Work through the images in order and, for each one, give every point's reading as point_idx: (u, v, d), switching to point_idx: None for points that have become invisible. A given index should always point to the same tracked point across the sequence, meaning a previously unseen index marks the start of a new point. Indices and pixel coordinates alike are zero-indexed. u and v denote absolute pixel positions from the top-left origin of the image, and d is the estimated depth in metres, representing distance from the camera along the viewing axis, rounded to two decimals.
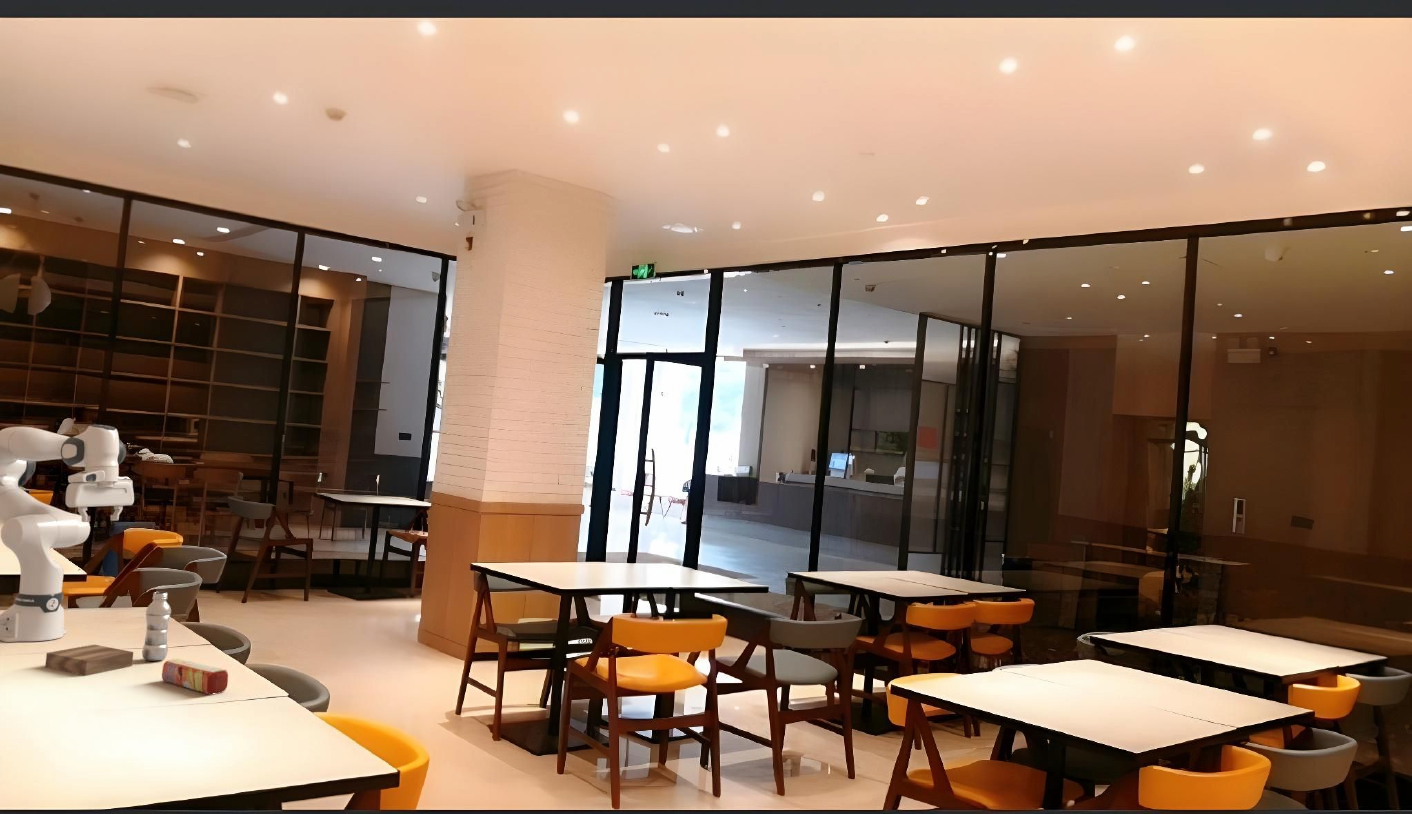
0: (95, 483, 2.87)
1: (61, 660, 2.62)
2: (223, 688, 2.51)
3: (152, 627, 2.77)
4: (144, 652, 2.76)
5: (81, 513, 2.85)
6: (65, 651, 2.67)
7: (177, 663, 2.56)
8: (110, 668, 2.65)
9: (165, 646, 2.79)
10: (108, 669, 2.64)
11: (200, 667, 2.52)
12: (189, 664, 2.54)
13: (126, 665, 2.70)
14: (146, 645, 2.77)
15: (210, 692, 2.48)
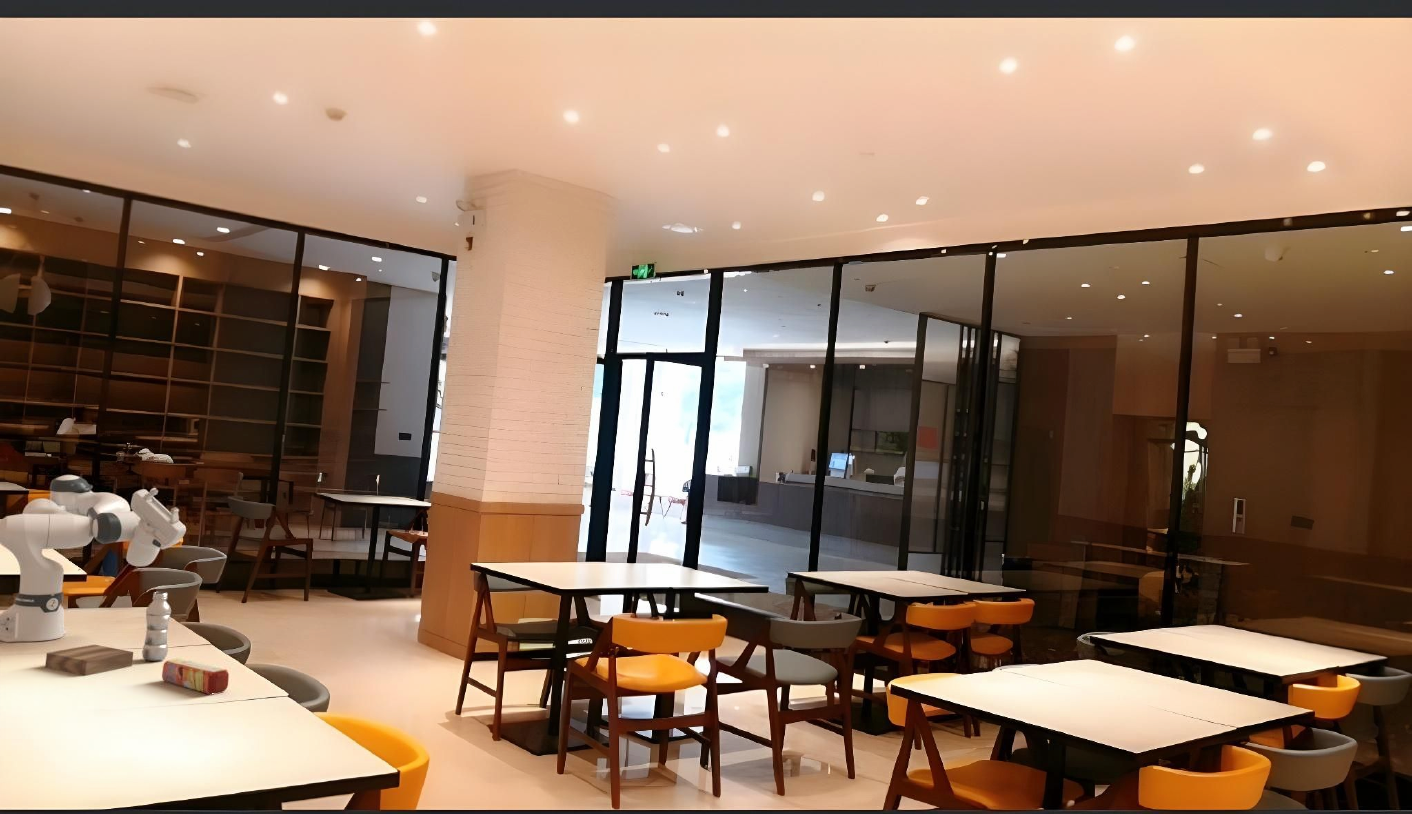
0: (155, 535, 2.99)
1: (61, 660, 2.62)
2: (224, 687, 2.51)
3: (152, 627, 2.77)
4: (144, 652, 2.76)
5: (176, 517, 2.97)
6: (65, 651, 2.67)
7: (177, 663, 2.56)
8: (110, 668, 2.65)
9: (165, 646, 2.79)
10: (108, 669, 2.64)
11: (201, 667, 2.52)
12: (189, 664, 2.54)
13: (126, 665, 2.70)
14: (146, 645, 2.77)
15: (211, 692, 2.48)
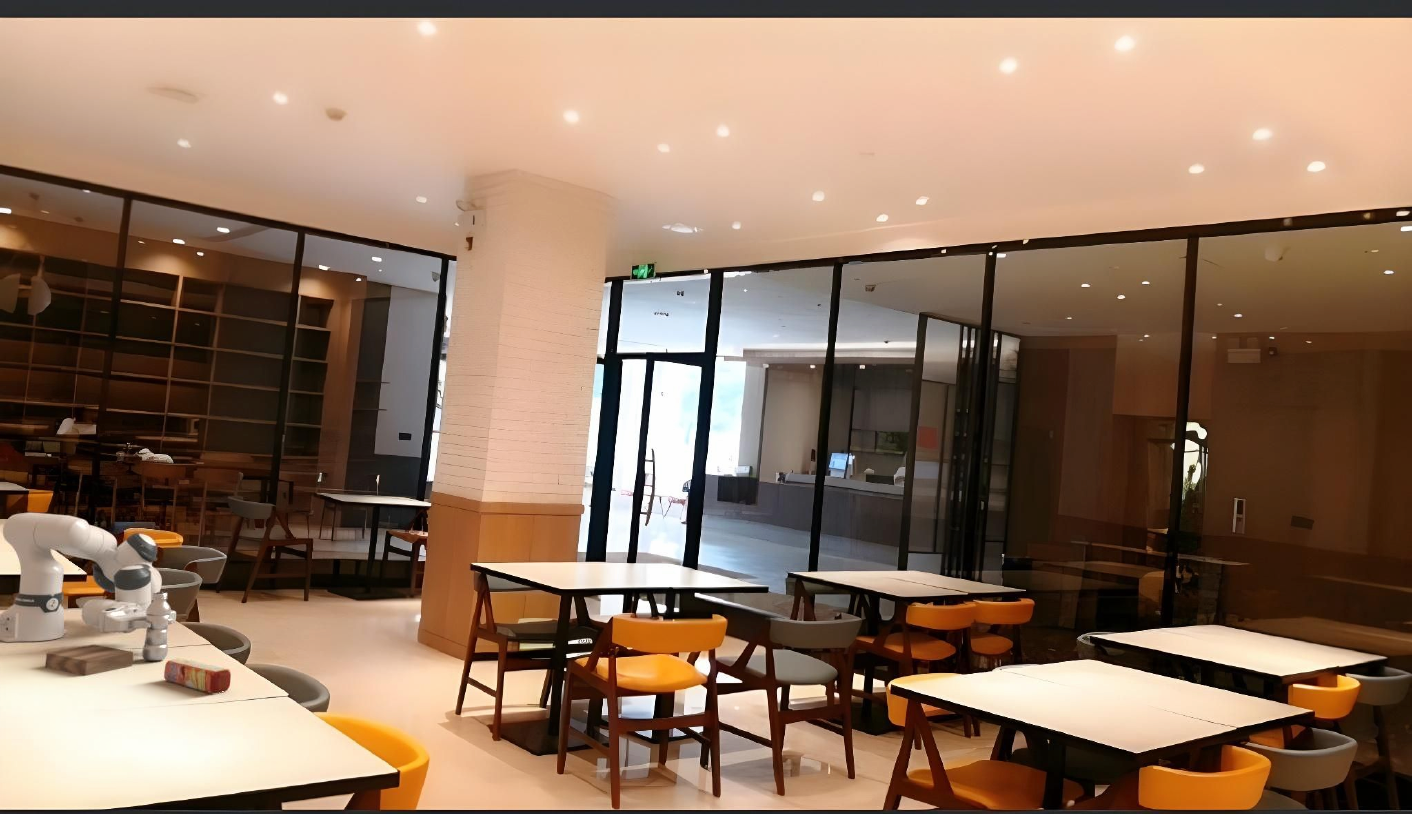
0: (120, 611, 2.80)
1: (61, 660, 2.62)
2: (226, 687, 2.52)
3: (152, 627, 2.77)
4: (144, 652, 2.76)
5: (138, 625, 2.76)
6: (65, 651, 2.67)
7: (179, 663, 2.56)
8: (110, 668, 2.65)
9: (165, 646, 2.79)
10: (108, 669, 2.64)
11: (203, 667, 2.52)
12: (192, 663, 2.55)
13: (126, 665, 2.70)
14: (146, 645, 2.77)
15: (213, 691, 2.49)
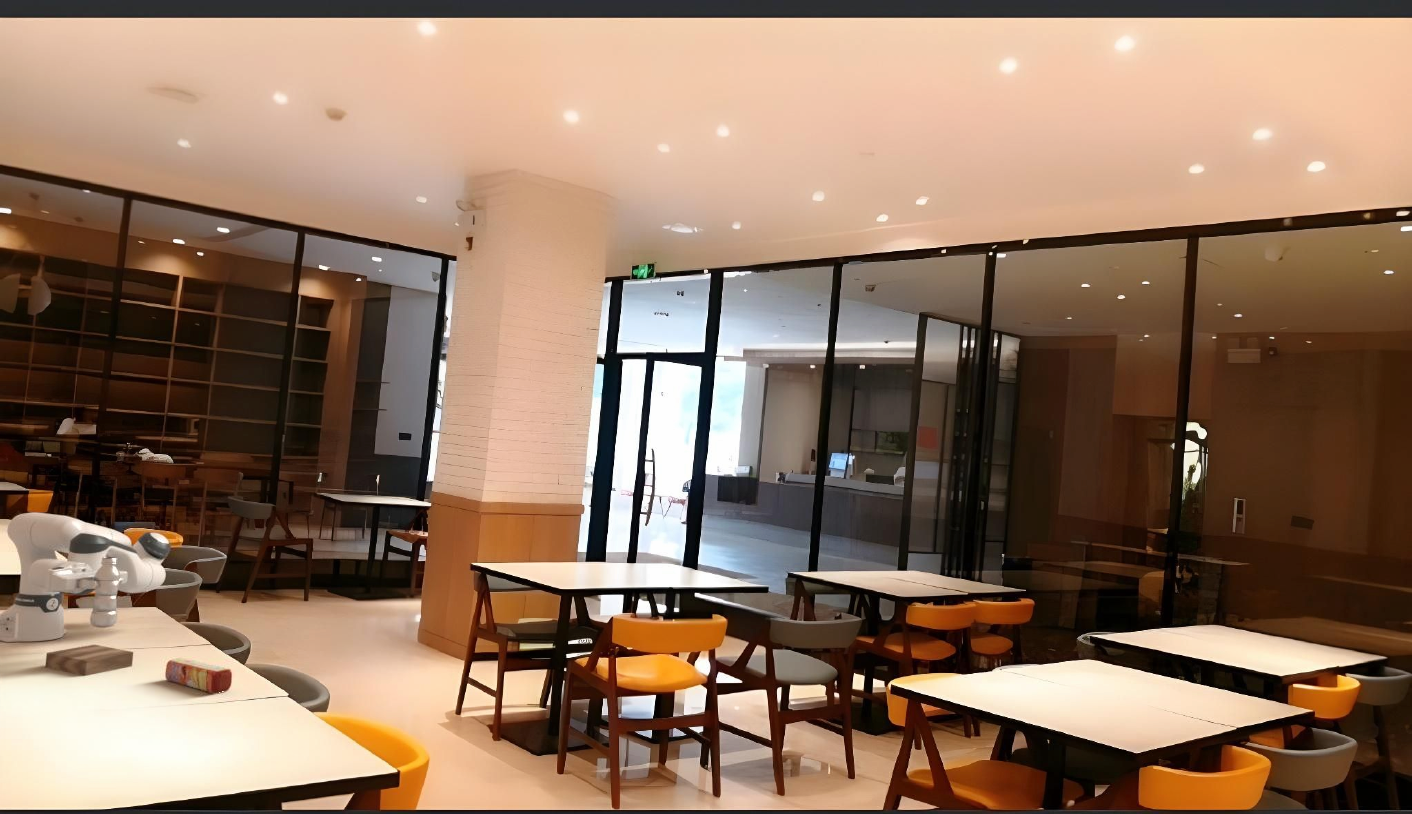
0: (67, 570, 2.70)
1: (61, 660, 2.62)
2: (227, 687, 2.52)
3: (100, 593, 2.67)
4: (91, 618, 2.67)
5: (86, 584, 2.66)
6: (65, 651, 2.67)
7: (181, 662, 2.57)
8: (110, 668, 2.65)
9: (113, 613, 2.69)
10: (108, 669, 2.64)
11: (204, 666, 2.53)
12: (193, 663, 2.55)
13: (126, 665, 2.70)
14: (93, 611, 2.67)
15: (214, 691, 2.49)
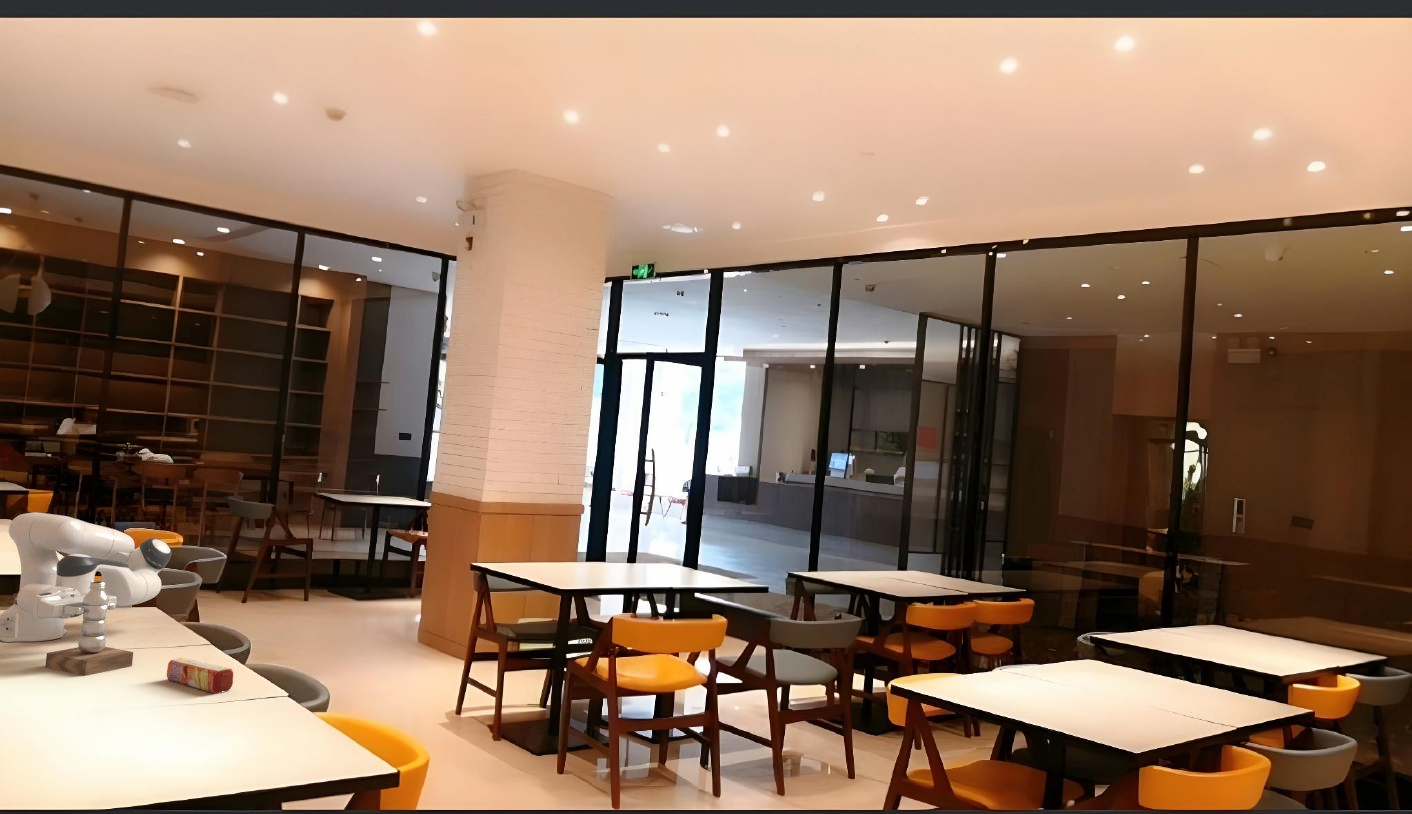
0: (55, 595, 2.68)
1: (61, 660, 2.62)
2: (228, 686, 2.53)
3: (88, 618, 2.66)
4: (79, 643, 2.65)
5: (70, 611, 2.63)
6: (65, 651, 2.67)
7: (182, 662, 2.57)
8: (110, 668, 2.65)
9: (101, 638, 2.67)
10: (108, 669, 2.64)
11: (206, 666, 2.53)
12: (194, 663, 2.56)
13: (126, 665, 2.70)
14: (81, 636, 2.65)
15: (216, 691, 2.50)
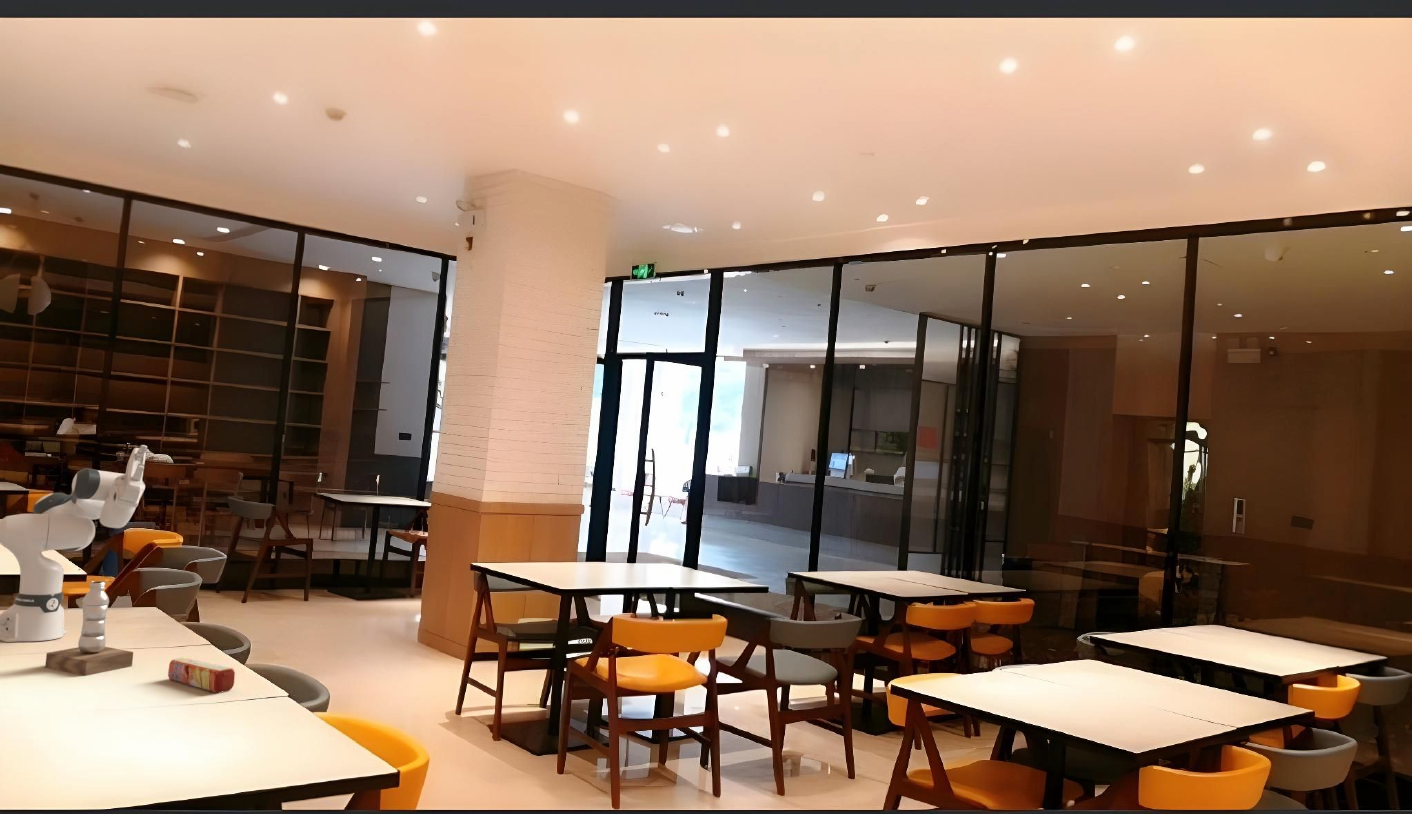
0: (119, 489, 2.94)
1: (61, 660, 2.62)
2: (230, 686, 2.53)
3: (88, 618, 2.66)
4: (79, 643, 2.65)
5: (138, 474, 2.91)
6: (65, 651, 2.67)
7: (183, 662, 2.57)
8: (110, 668, 2.65)
9: (101, 638, 2.67)
10: (108, 669, 2.64)
11: (207, 666, 2.54)
12: (196, 663, 2.56)
13: (126, 665, 2.70)
14: (81, 636, 2.65)
15: (217, 690, 2.50)
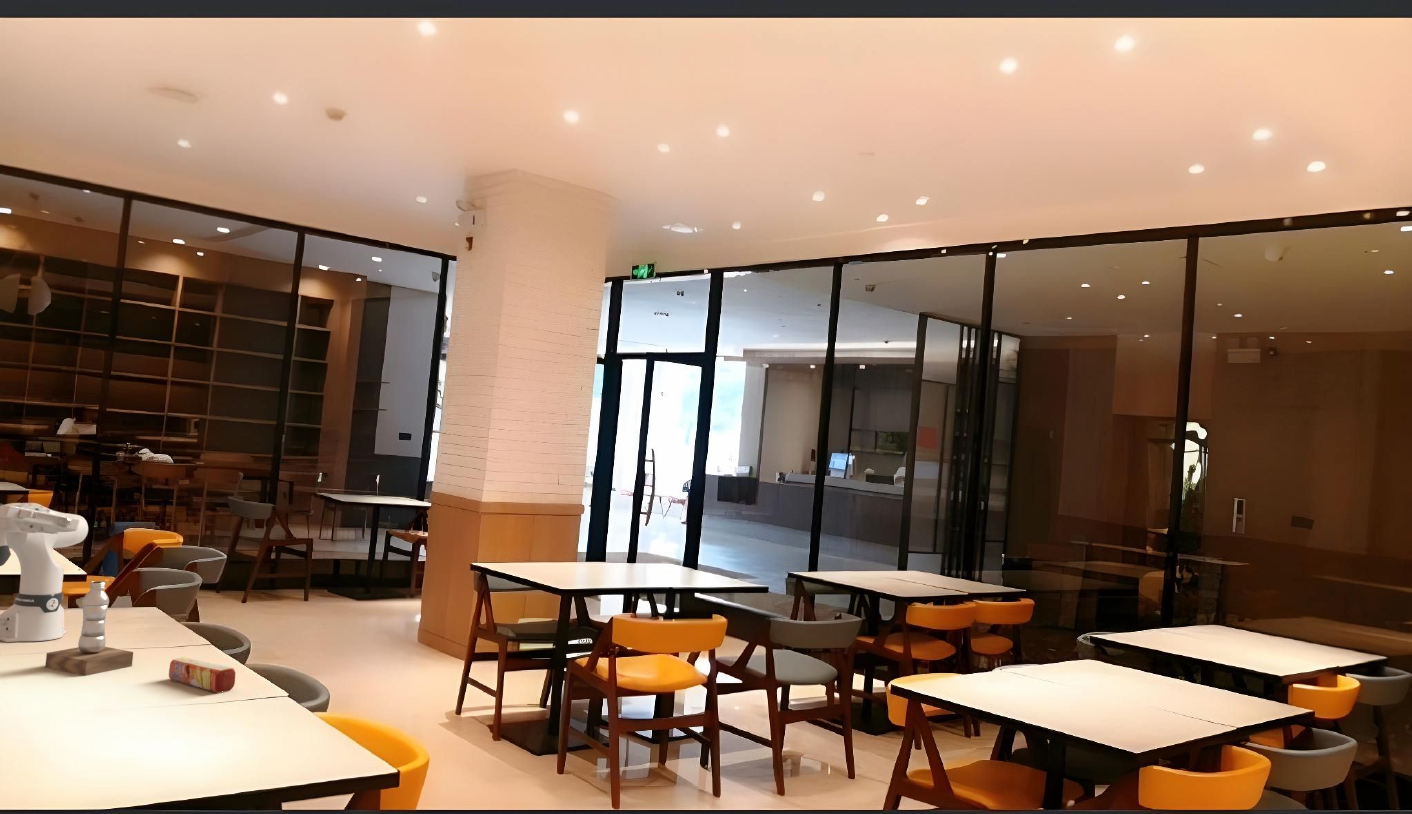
0: (44, 530, 2.78)
1: (61, 660, 2.62)
2: (230, 686, 2.53)
3: (88, 618, 2.66)
4: (79, 643, 2.65)
5: None
6: (65, 651, 2.67)
7: (184, 662, 2.58)
8: (110, 668, 2.65)
9: (101, 638, 2.67)
10: (108, 669, 2.64)
11: (208, 666, 2.54)
12: (196, 662, 2.56)
13: (126, 665, 2.70)
14: (81, 636, 2.65)
15: (218, 690, 2.50)
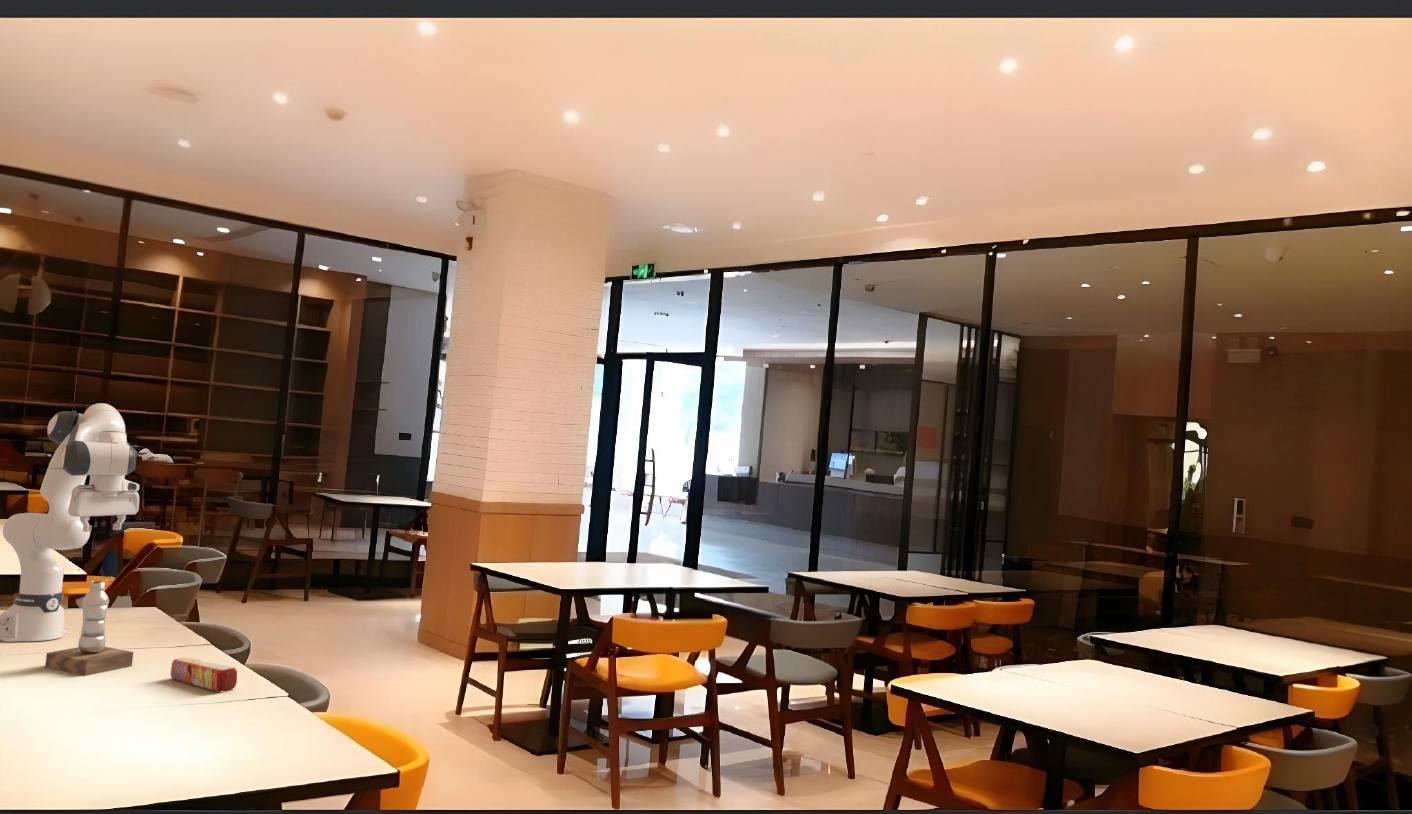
0: None
1: (61, 660, 2.62)
2: (232, 685, 2.54)
3: (88, 618, 2.66)
4: (79, 643, 2.65)
5: None
6: (65, 651, 2.67)
7: (186, 661, 2.58)
8: (110, 668, 2.65)
9: (101, 638, 2.67)
10: (108, 669, 2.64)
11: (210, 665, 2.54)
12: (198, 662, 2.57)
13: (126, 665, 2.70)
14: (81, 636, 2.65)
15: (220, 690, 2.51)
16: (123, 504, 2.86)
